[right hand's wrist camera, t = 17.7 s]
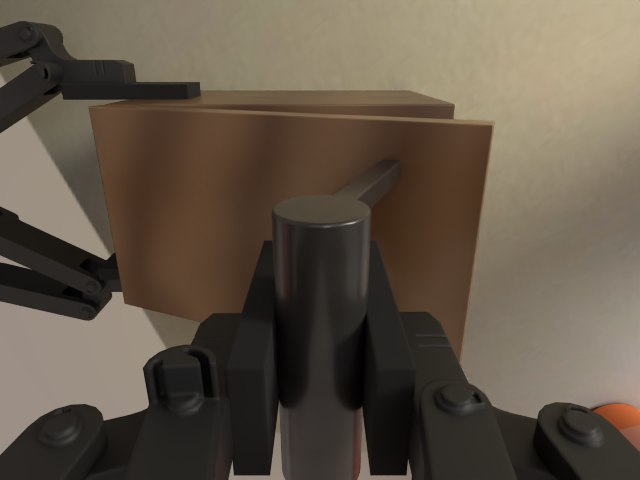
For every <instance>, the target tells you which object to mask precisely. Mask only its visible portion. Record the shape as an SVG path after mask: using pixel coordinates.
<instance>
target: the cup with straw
mask: <svg viewBox="0 0 640 480" xmlns="http://www.w3.org/2000/svg"><path fill="white" fill-rule="evenodd" d="M593 411H594V412H596V413H598V414H600V415H601V416H603V417H604V418H605V419H606V420H608V421H609V422H610V423H611V424H613V425H614V426H615V427H616V428H617V429H618V430H619V431H620V432H621V433H622V434H623V435H624V436H625V437H626V438H627V439H628V440H629V441H630V442H631V444H632V445H633V446H634V447H635V448H636V449H637V450H638V451H639V452H640V411H639V410H638V409H636V408H634V407H632V406H630V405H627V404H609V405H605V406H602V407H599V408H597V409H595V410H593Z"/></svg>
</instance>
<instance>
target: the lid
mask: <svg viewBox="0 0 640 480" xmlns="http://www.w3.org/2000/svg"><path fill="white" fill-rule="evenodd" d="M89 112H90V117H91V122H92V128H93V133H94V139H95V144H96V150H97V155H98V161H99V166H100V171H101V177H102V182H103V188H104V193H105V199H106V204H107V210H108V215H109V221H110V226H111V231H112V237H113V242H114V248H115V253H116V259H117V264H118V270H119V275H120V280H121V286H122V291H123V297H124V302H125V304H128V305H132V306H137V307H141V308H145V309H149V310H153V311H157V312H161V313H165V314H169V315H174V316H178V317H182V318H186V319H190V320H194V321H198V322H203V321H204V320H205V319H207V318H208V317H209V316H210V315H211V314H213V313H242V310H243V306H244V303H245V300H246V297H247V294H248V290H249V287H250V284H251V281H252V278H253V274H254V271H255V268H256V265H257V262H258V258H259V255H260V252H261V249H262V246H263V242H264V240H273V263H274V286H275V310H276V334H277V358H278V381H279V405H280V429H281V453H282V470H283V475H284V477H285V479H286V480H357V478H358V476H359V473H360V463H361V441H362V419H363V409H362V399H363V376H364V353H365V330H366V312H367V307H368V285H369V262H370V240H376V241H377V244H378V247H379V251H380V254H381V257H382V260H383V263H384V266H385V270H386V273H387V276H388V279H389V282H390V286H391V289H392V292H393V295H394V298H395V302H396V305H397V308H398V311H399V312H429V313H430V314H431V315H432V316H433V317H435V318H436V319H437V320H438V321H439V322H440V323H441V325H442V327H443V329H444V331H445V334H446V337H447V338H448V340H449V342H450V344H451V347H452V349H453V351H454V353H455V355H456V357H457V360H458V362H459V364H460V366H461V359H462V352H463V345H464V338H465V330H466V323H467V316H468V309H469V302H470V295H471V288H472V280H473V273H474V266H475V259H476V252H477V245H478V238H479V231H480V223H481V216H482V209H483V202H484V195H485V188H486V181H487V174H488V166H489V159H490V152H491V145H492V138H493V131H494V124H495V122H494V121H477V120H454V119H430V118H407V117H384V116H361V115H337V114H314V113H291V112H267V111H244V110H221V109H198V108H174V107H151V106H128V105H99V106H90V107H89Z"/></svg>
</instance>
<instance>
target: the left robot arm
mask: <svg viewBox="0 0 640 480" xmlns="http://www.w3.org/2000/svg"><path fill="white" fill-rule="evenodd" d="M62 43H63V36H62V33H61V32H60V30H59V29H58V28H56V27H55V26H52V25H47V24H40V23H33V22H26V21H21V22H17V23H14V24H11V25H8V26H5V27H1V28H0V67H1V66H4V65H7V64H10V63H13V62H17V61H20V60H23V59H26V58H29V57H31V58H32V59H33V61H30V63H31V64H34V65H33V66H32V67H30V68H29V69H27V70H26V71H24V72H23V73H21V74H20V75H19V76H17V77H16V78H14V79H13V80H11V81H10V82H8V83H7V84H6V85H4V86H3V87H1V88H0V133H1V132H3V131H4V130H6V129H7V128H9V127H10V126H12V125H13V124H15V123H16V122H18V121H19V120H21V119H22V118H24V117H25V116H27V115H28V114H30V113H31V112H33V111H34V110H36V109H37V108H39V107H40V106H42V105H43V104H45V103H46V102H48V101H49V100H51V99H52V98H54V97H55V96H57V95H58V94H60V93H61V92H62V94H63V99H64V100H122V99H191V98H194V97H198V96H201V93H200V82H136V77H135V70H134V64H132V63H129V62H127V61H124V60H77V59H74V58H73V57H71V56H70V55H69V54H68V52H67V51H66V49H65V47H64V46H63V44H62ZM0 255H1V256H3V257H5V258H8V259H10V260H12V261H14V262H17V263H19V264H21V265H23V266H26V267H28V268H30V269H27V268H23V267H18V266H14V265H10V264H5V263H0V301H2V302H6V303H11V304H15V305H19V306H24V307H29V308H33V309H37V310H42V311H46V312H51V313H55V314H60V315H64V316H68V317H73V318H77V319H82V320H88V321H89V320H92V319H94V318H95V317H96V316H97V314H98V313H99V312H100V311H101V310H102V309H103V308H104V306H105V305H106V304H107V303H108V302H109V301H110V300H111V298H112V293H111V292H123V291H122V286H121V280H120V275H119V270H118V264H117V259H116V253H114V254H113V255H112V256H111V257H109V258H108V259H107V260H104V259H102V258H100V257H98V256H96V255H93V254H91V253H89V252H87V251H85V250H83V249H80V248H78V247H76V246H74V245H72V244H70V243H67V242H65V241H63V240H61V239H59V238H57V237H55V236H52V235H50V234H48V233H46V232H44V231H42V230H39V229H37V228H35V227H33V226H31V225H29V224H26V223H24V222H22V221H20V220H19V217H18V215H17V214H15V213H13V212H11V211H9V210H6V209H4V208H2V207H0ZM31 269H32V270H31Z"/></svg>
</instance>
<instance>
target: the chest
mask: <svg viewBox="0 0 640 480" xmlns="http://www.w3.org/2000/svg"><path fill="white" fill-rule="evenodd" d="M200 93H201V96H198V97H194V98H191V99H131V100H125V101H120V102H115V103H110V104H106V105H128V106H151V107H174V108H198V109H221V110H244V111H267V112H291V113H314V114H337V115H361V116H384V117H407V118H430V119H453V117H454V108H455V105H454V104H451V103H448V102H445V101H442V100H438V99H435V98H432V97H428V96H425V95H422V94H419V93H415V92H412V91H200Z"/></svg>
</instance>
